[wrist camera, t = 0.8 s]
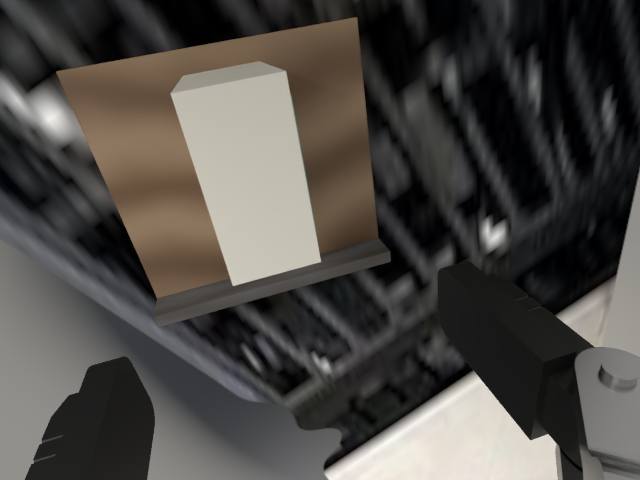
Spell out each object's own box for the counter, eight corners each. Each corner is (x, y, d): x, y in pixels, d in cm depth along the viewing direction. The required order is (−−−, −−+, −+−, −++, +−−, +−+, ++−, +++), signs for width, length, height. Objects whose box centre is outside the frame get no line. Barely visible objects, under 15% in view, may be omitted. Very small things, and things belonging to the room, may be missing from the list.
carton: (225, 215, 30) (233, 286, 21) (182, 75, 25) (170, 93, 16) (291, 199, 31) (325, 260, 22) (263, 60, 26) (291, 69, 17)
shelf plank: (63, 70, 25) (40, 74, 21) (350, 18, 27) (370, 14, 24) (163, 298, 33) (158, 328, 30) (373, 241, 36) (390, 262, 33)
